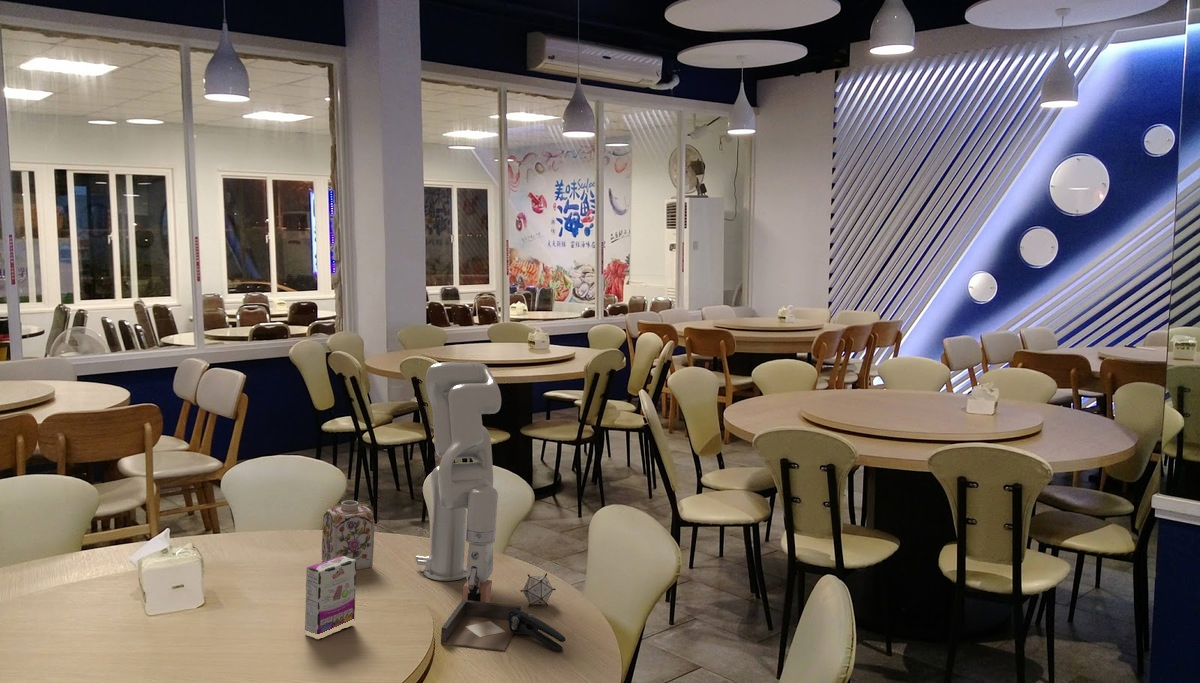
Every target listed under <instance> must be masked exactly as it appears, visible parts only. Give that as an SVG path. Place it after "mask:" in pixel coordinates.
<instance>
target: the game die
mask: <svg viewBox="0 0 1200 683" xmlns="http://www.w3.org/2000/svg"><path fill="white" fill-rule="evenodd" d="M547 576H548V573H547V572H546V573H545V574H544V575H534V576H530V574H529V573H527V577H528V579H527V581H526V583H525V585H524V587H523V589H520V590H519V592H520V593H523V594H524V596H525V598H526V599H527V602H528V603H529V604H528V608H531V605H547V607H549V604H548V601H549V599H550V597H551V595H552V592H554V591H556V590H557V589H556V588H555V587H554V588H553V587H552V585H551V583H550V581H549V579H548V577H547Z"/></svg>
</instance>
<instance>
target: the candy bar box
mask: <svg viewBox="0 0 1200 683" xmlns="http://www.w3.org/2000/svg"><path fill="white" fill-rule="evenodd" d="M356 573H357V570H356V560H355V559H352V558H349V557H346V556H341V557H338V558H334V559H331V560H328V561H325V562H323V561H322V562H320V563H316V564H314V565H309V566H306V573H305V574H306V580H305V582H306V583H305V587H306V588H305V620H304V631H305V630H306V631H309V632H311V633H315V634H320V633H323V632H325V631H327V630H330V629H332V628H334V627H337V626H339V625H341V624H343V623H346V622H348V621H350V620H352V619H354V620H355V610H356V608H355V607H356V585H357V584H356V583H357V582H356V579H357V578H356V577H357V574H356Z"/></svg>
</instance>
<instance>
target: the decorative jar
mask: <svg viewBox="0 0 1200 683" xmlns="http://www.w3.org/2000/svg"><path fill="white" fill-rule="evenodd" d="M321 536H322V538H321V561H322V562H325V561H328V560H331V559H334V558H338V557H341V556H346V557H349V558H352V559H355V560H356V569H357V570H360V569H359V568H364V569H370V568H372V567H373V563H374V551H375V550H374V547H375V519H374V515H373V512H372V510H371V509H370V508H368V507H367V506H364V505H361V504H359V502H358V501H356V500H344V501H341V504H340V505H335V506H333V507H330V508H329V509H327V510H326V512H325V513H324V514H323V518H322V535H321Z"/></svg>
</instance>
